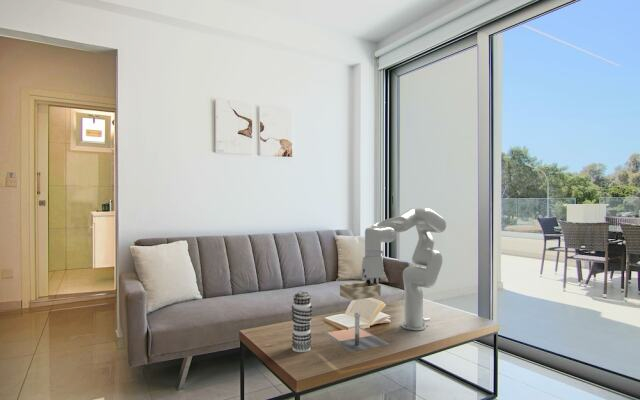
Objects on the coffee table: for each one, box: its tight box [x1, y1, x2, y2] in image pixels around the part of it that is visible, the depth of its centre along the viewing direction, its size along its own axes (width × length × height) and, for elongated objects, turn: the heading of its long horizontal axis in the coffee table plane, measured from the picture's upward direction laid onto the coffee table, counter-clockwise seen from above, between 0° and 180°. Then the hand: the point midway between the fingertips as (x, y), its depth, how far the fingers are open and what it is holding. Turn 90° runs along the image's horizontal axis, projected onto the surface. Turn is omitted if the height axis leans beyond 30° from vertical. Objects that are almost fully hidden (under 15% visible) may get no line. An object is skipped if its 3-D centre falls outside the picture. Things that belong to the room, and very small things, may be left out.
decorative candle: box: [291, 291, 313, 353], centre depth 175 cm, size 9×9×25 cm
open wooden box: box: [339, 281, 382, 301], centre depth 182 cm, size 16×10×5 cm, turn 118°
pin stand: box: [323, 312, 391, 353], centre depth 185 cm, size 21×26×16 cm
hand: (372, 292), depth 185 cm, fingers closed on open wooden box, 1 cm apart
